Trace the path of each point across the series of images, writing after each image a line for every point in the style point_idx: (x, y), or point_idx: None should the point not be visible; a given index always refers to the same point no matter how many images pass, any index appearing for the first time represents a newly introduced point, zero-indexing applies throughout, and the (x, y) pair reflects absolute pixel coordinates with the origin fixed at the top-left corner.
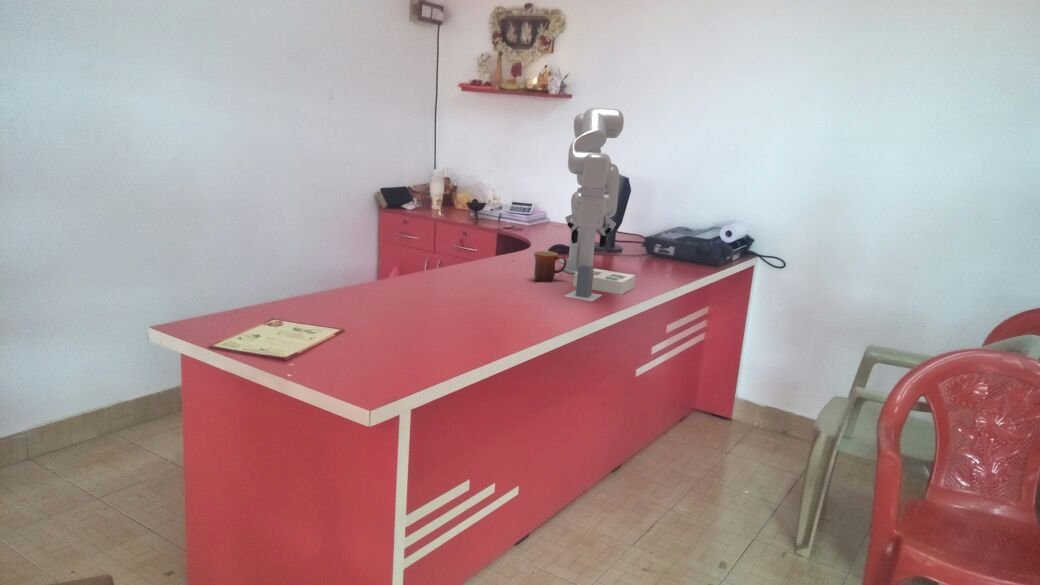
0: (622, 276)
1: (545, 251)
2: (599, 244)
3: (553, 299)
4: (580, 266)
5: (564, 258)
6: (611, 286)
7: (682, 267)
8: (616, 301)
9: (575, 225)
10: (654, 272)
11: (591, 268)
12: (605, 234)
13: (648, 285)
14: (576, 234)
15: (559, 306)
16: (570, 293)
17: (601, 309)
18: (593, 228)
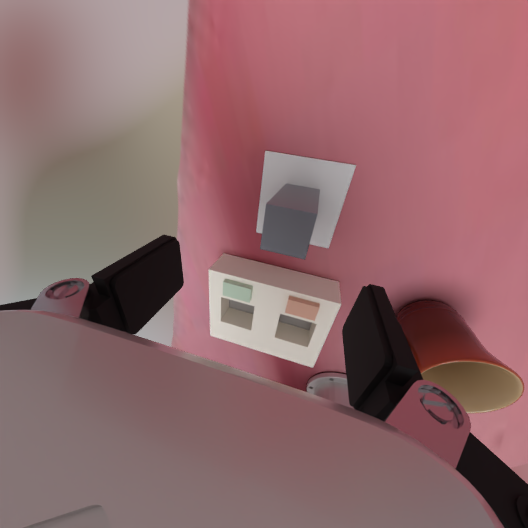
0: (229, 322)
1: None
2: (167, 246)
3: (391, 120)
4: (308, 224)
5: None
6: (240, 268)
7: None
8: (219, 206)
9: (430, 451)
10: None
11: (263, 226)
12: (56, 284)
13: (210, 340)
14: (360, 361)
15: (363, 15)
16: (338, 208)
17: (224, 87)
18: (89, 323)
